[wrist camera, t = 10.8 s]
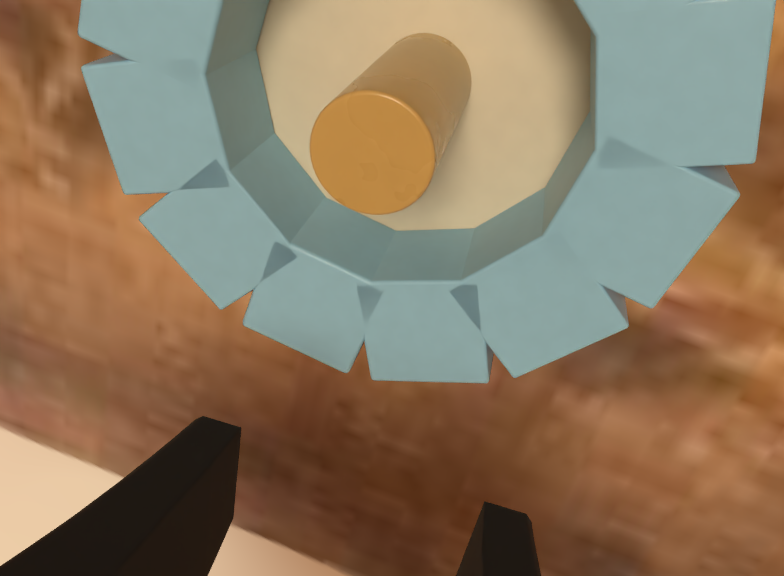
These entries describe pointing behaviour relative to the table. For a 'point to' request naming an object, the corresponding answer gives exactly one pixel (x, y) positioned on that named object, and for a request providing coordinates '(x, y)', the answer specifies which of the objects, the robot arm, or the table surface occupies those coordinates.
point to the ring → (443, 246)
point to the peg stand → (426, 101)
